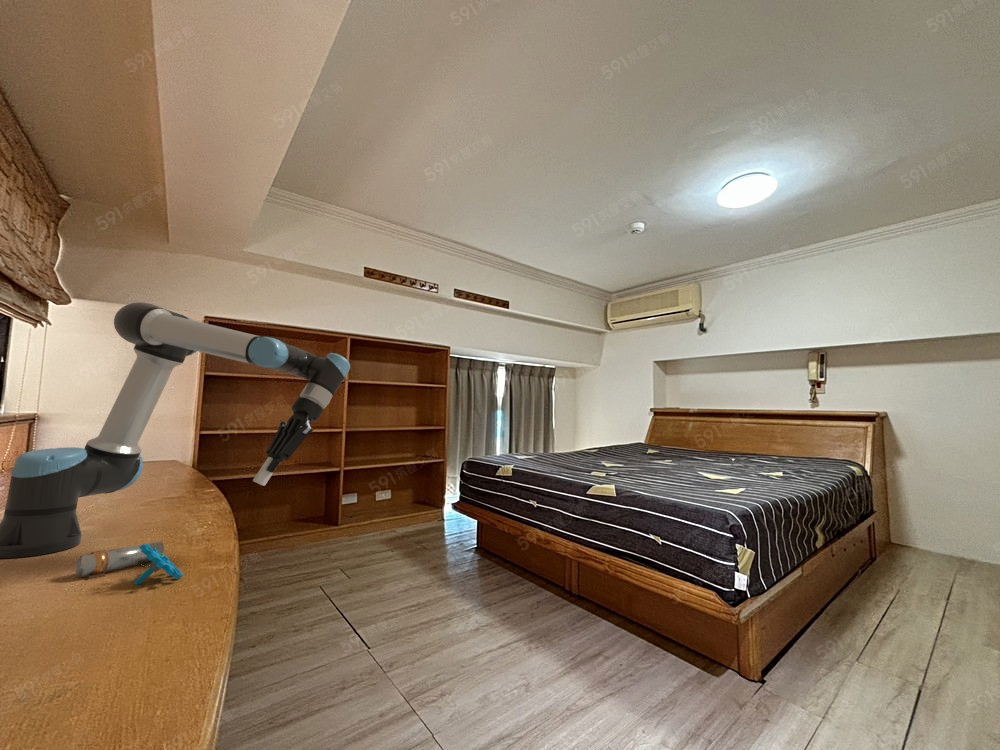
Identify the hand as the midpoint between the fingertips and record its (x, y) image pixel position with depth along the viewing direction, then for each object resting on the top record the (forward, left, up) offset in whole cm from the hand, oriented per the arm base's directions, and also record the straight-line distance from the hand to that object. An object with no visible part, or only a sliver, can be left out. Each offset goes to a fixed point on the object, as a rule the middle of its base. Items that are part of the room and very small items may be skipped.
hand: (258, 483), depth 99 cm
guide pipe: (-13, -20, -17) cm, 29 cm away
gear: (0, -18, -18) cm, 25 cm away
